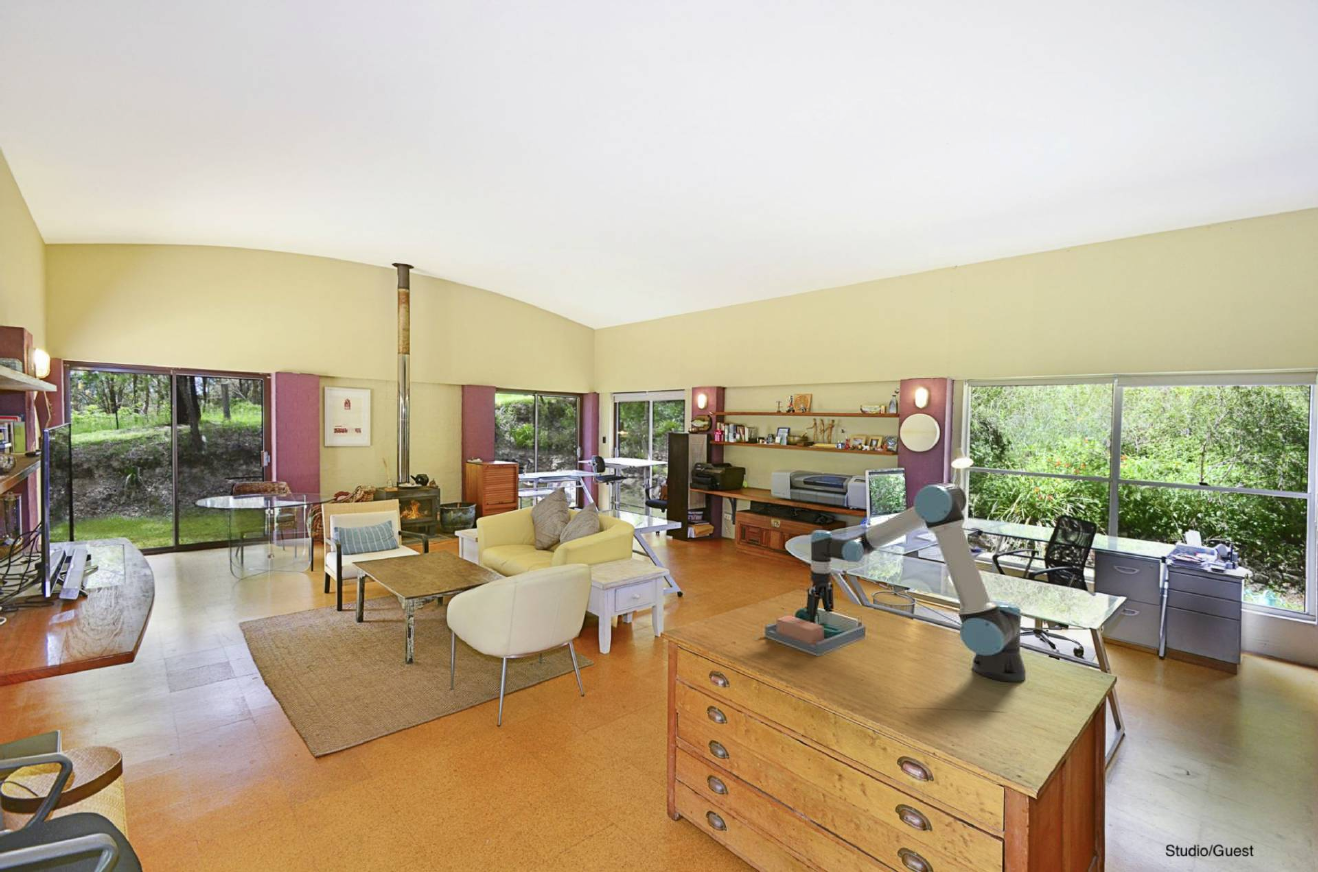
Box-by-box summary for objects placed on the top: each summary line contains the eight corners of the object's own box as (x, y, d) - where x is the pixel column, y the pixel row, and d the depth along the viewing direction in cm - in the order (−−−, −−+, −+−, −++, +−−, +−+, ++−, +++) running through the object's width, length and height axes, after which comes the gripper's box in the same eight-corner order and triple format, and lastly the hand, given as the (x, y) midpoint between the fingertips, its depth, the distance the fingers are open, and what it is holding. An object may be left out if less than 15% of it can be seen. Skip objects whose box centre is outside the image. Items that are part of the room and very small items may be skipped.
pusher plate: (813, 620, 241) (813, 606, 241) (858, 635, 226) (858, 619, 225) (811, 621, 241) (811, 606, 240) (856, 635, 225) (856, 620, 225)
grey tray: (812, 620, 244) (812, 607, 244) (865, 637, 226) (865, 622, 225) (765, 636, 225) (765, 622, 225) (818, 656, 206) (818, 640, 206)
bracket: (794, 627, 231) (795, 607, 230) (803, 623, 235) (803, 604, 235) (837, 639, 218) (838, 618, 218) (846, 635, 223) (846, 614, 223)
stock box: (788, 632, 227) (788, 614, 227) (823, 645, 215) (823, 626, 215) (776, 637, 223) (776, 618, 223) (811, 649, 211) (812, 630, 210)
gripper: (827, 565, 236) (826, 622, 236) (796, 573, 223) (795, 633, 223) (844, 568, 230) (843, 627, 230) (813, 577, 217) (812, 638, 218)
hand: (819, 630), depth 227 cm, fingers closed on bracket, 7 cm apart
